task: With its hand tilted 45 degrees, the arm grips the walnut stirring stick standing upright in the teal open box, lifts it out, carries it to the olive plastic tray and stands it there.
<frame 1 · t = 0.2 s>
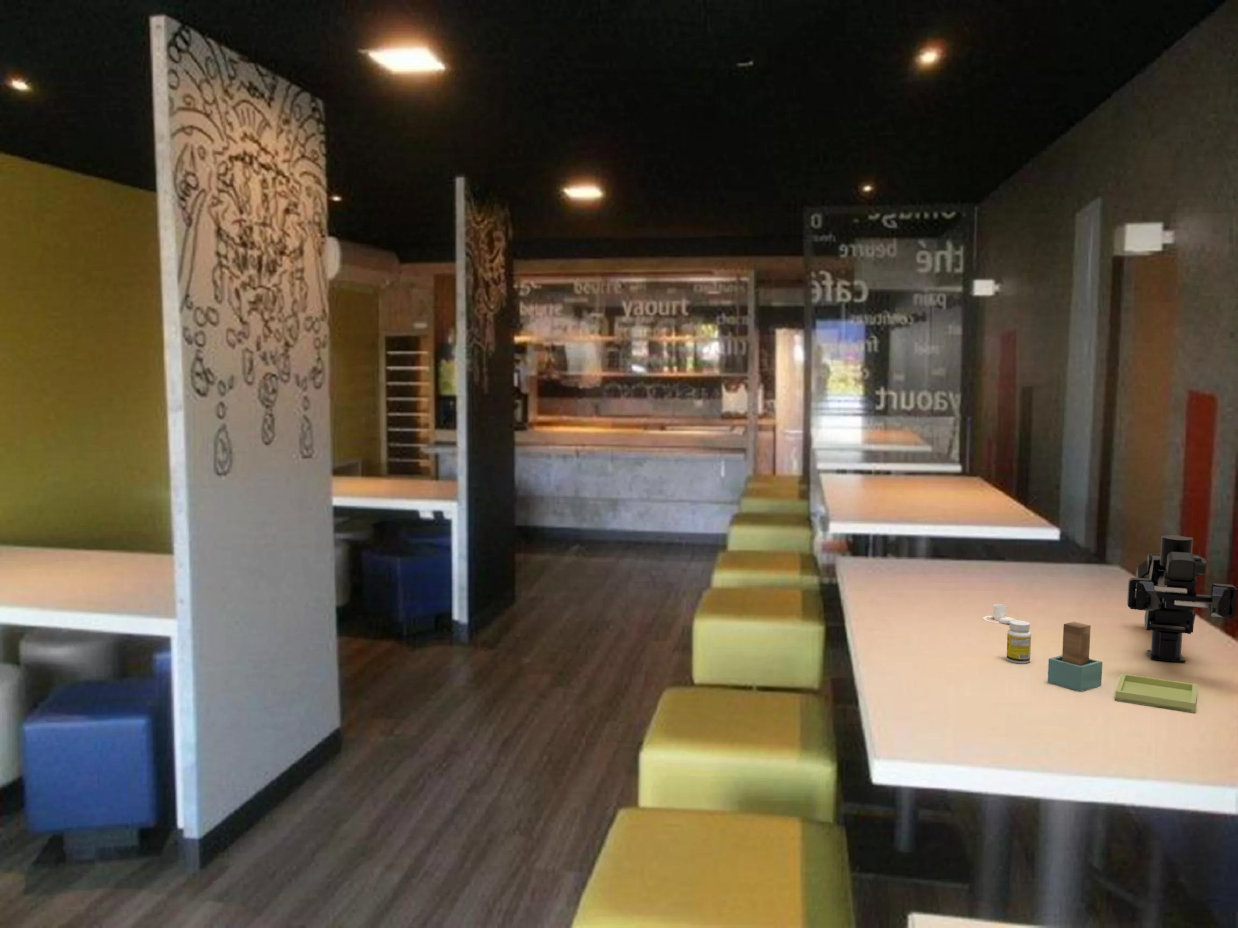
hand: (1186, 607, 186), 17 cm above the table, tool horizontal, fingers open, 9 cm apart
teal open box: (1074, 683, 193), on the table
walnut stick: (1075, 654, 192), in the teal open box
supplement bottle: (1018, 661, 208), on the table
teacup and saucer: (992, 624, 242), on the table
olive tray: (1156, 696, 185), on the table
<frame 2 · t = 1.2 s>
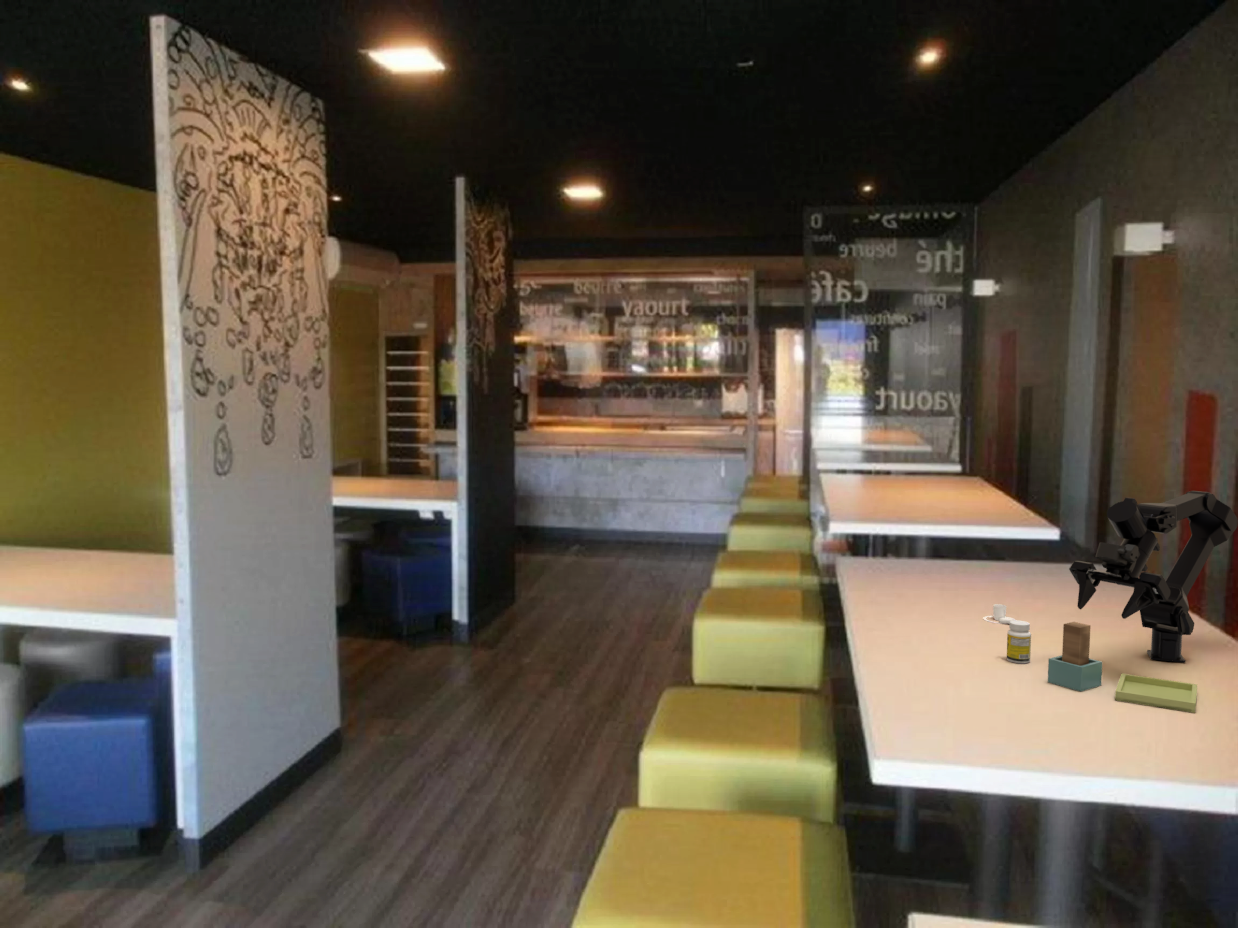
hand: (1100, 612, 196), 13 cm above the table, tool tilted 45°, fingers open, 9 cm apart
nothing on the table moved.
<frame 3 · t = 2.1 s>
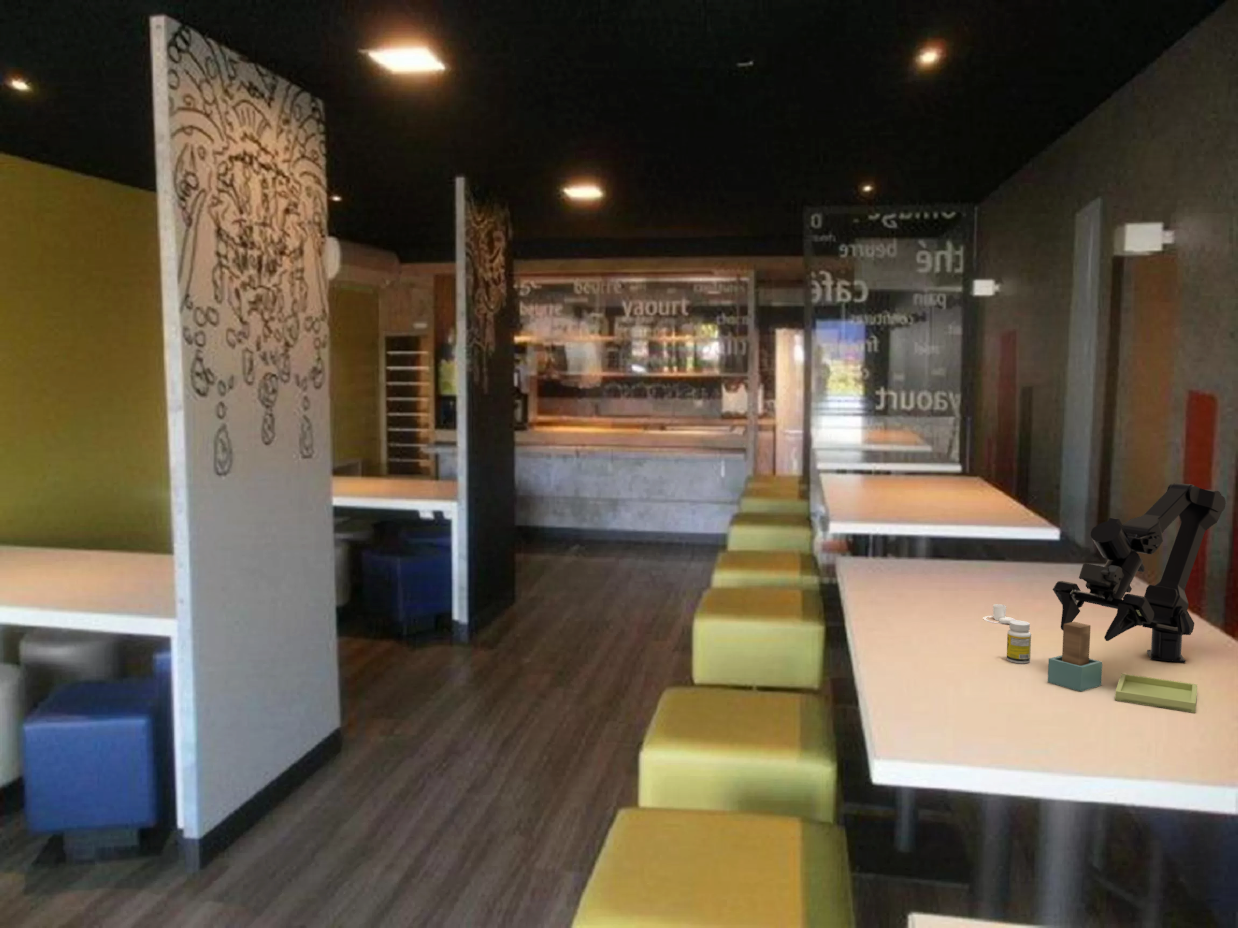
hand: (1083, 634, 193), 10 cm above the table, tool tilted 45°, fingers open, 9 cm apart
nothing on the table moved.
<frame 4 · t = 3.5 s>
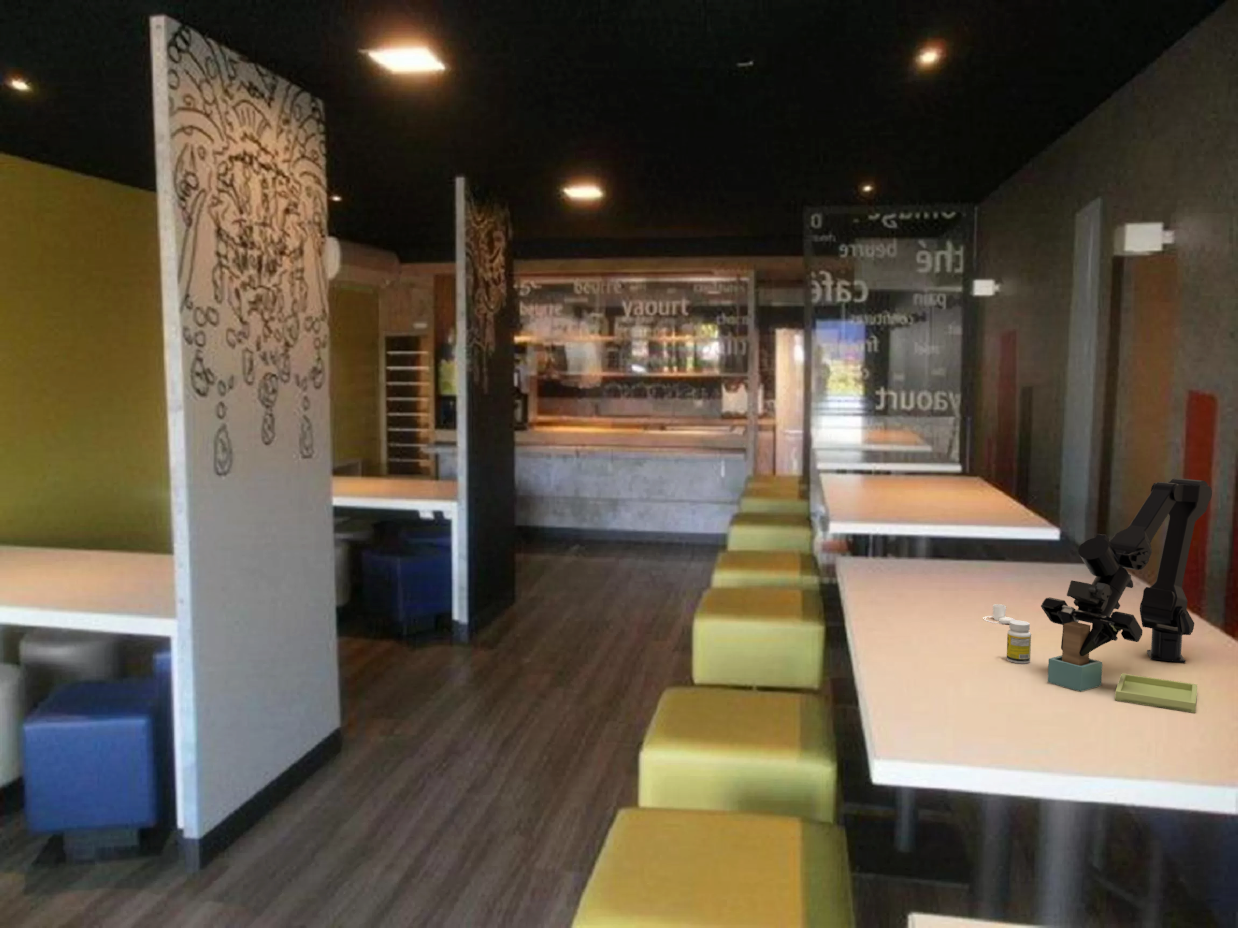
hand: (1071, 652, 191), 7 cm above the table, tool tilted 45°, fingers closed on walnut stick, 3 cm apart
walnut stick: (1075, 654, 192), in the teal open box, touching gripper
everything else where it was.
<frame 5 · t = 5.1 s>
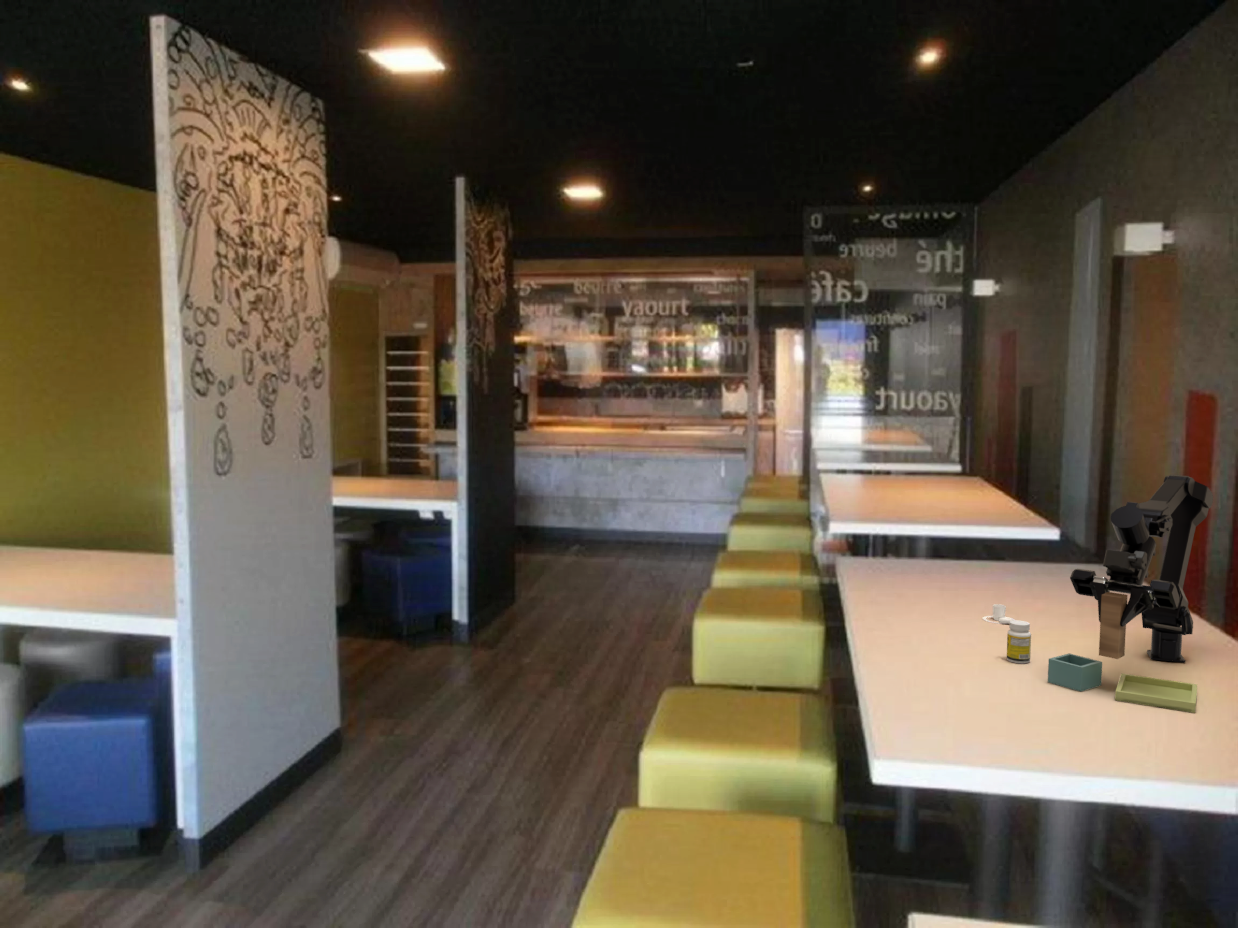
hand: (1110, 623, 187), 13 cm above the table, tool tilted 45°, fingers closed on walnut stick, 3 cm apart
walnut stick: (1113, 625, 188), point 13 cm above the table, touching gripper
everything else where it was.
when the fingers open (8 cm above the table, at t = 6.8 s): walnut stick stays where it is, resting on olive tray.
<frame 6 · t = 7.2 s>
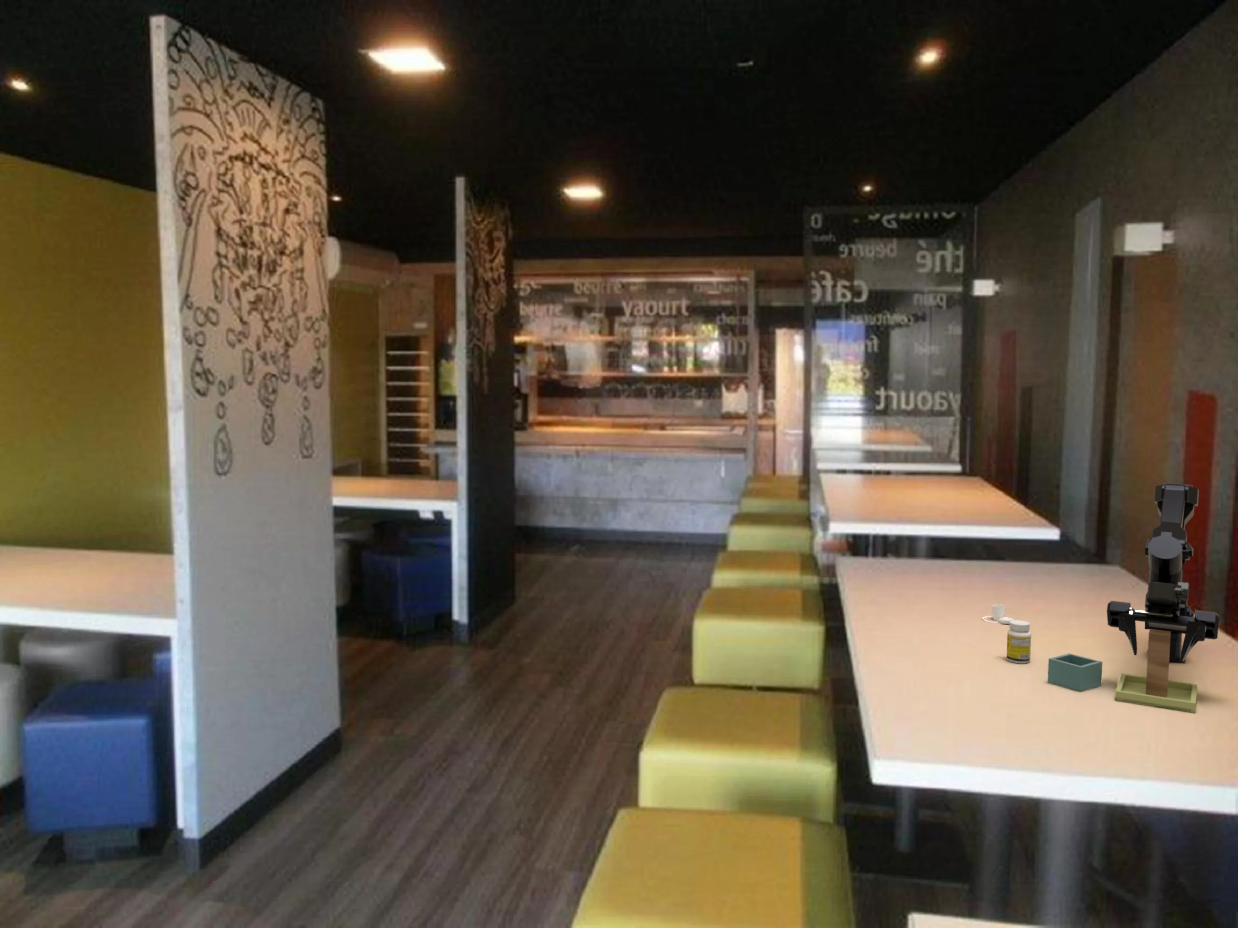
hand: (1158, 657, 183), 8 cm above the table, tool tilted 45°, fingers open, 7 cm apart
walnut stick: (1158, 662, 184), in the olive tray, point 7 cm above the table
everything else where it was.
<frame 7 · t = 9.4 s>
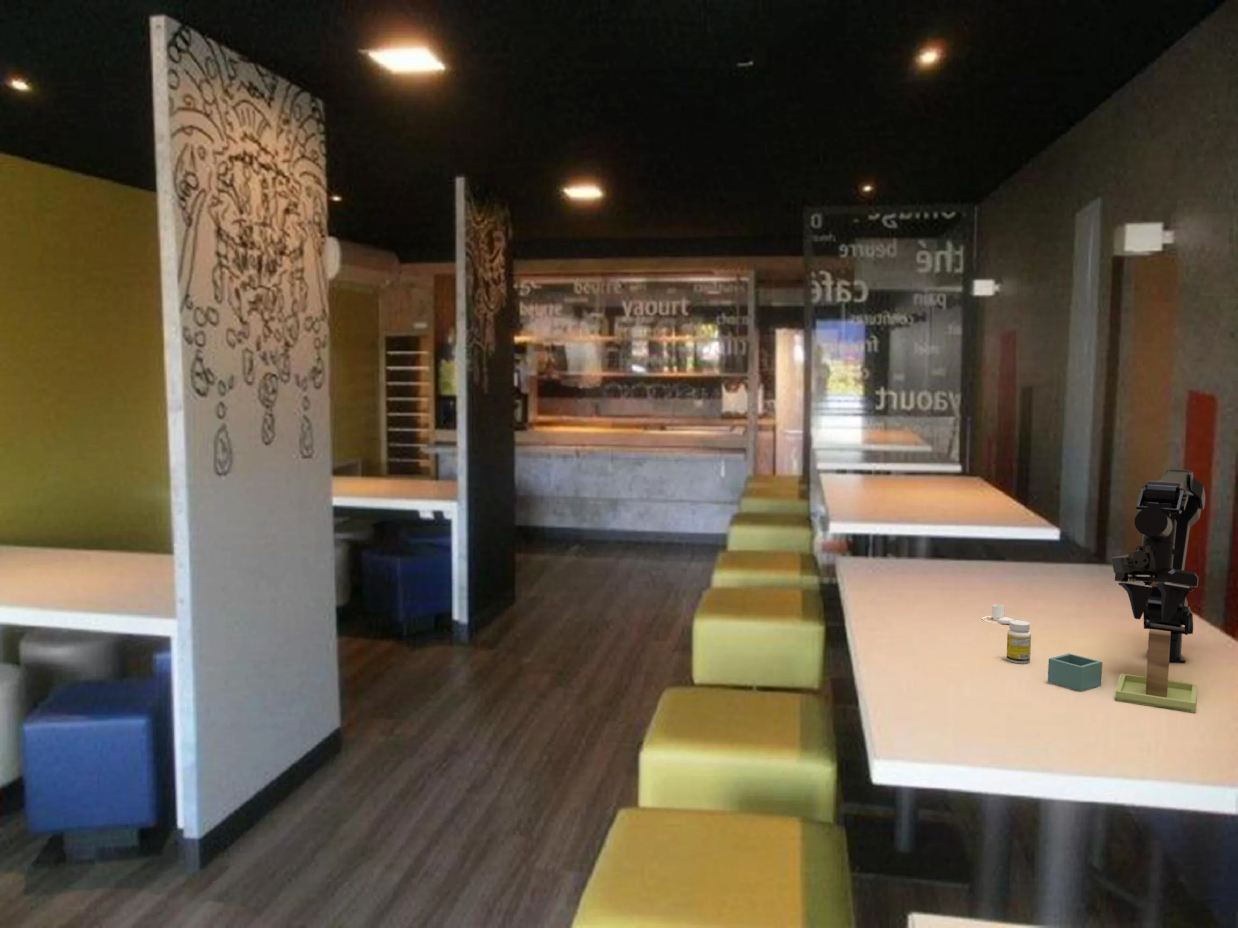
hand: (1150, 620, 194), 12 cm above the table, tool pointing down, fingers open, 9 cm apart
nothing on the table moved.
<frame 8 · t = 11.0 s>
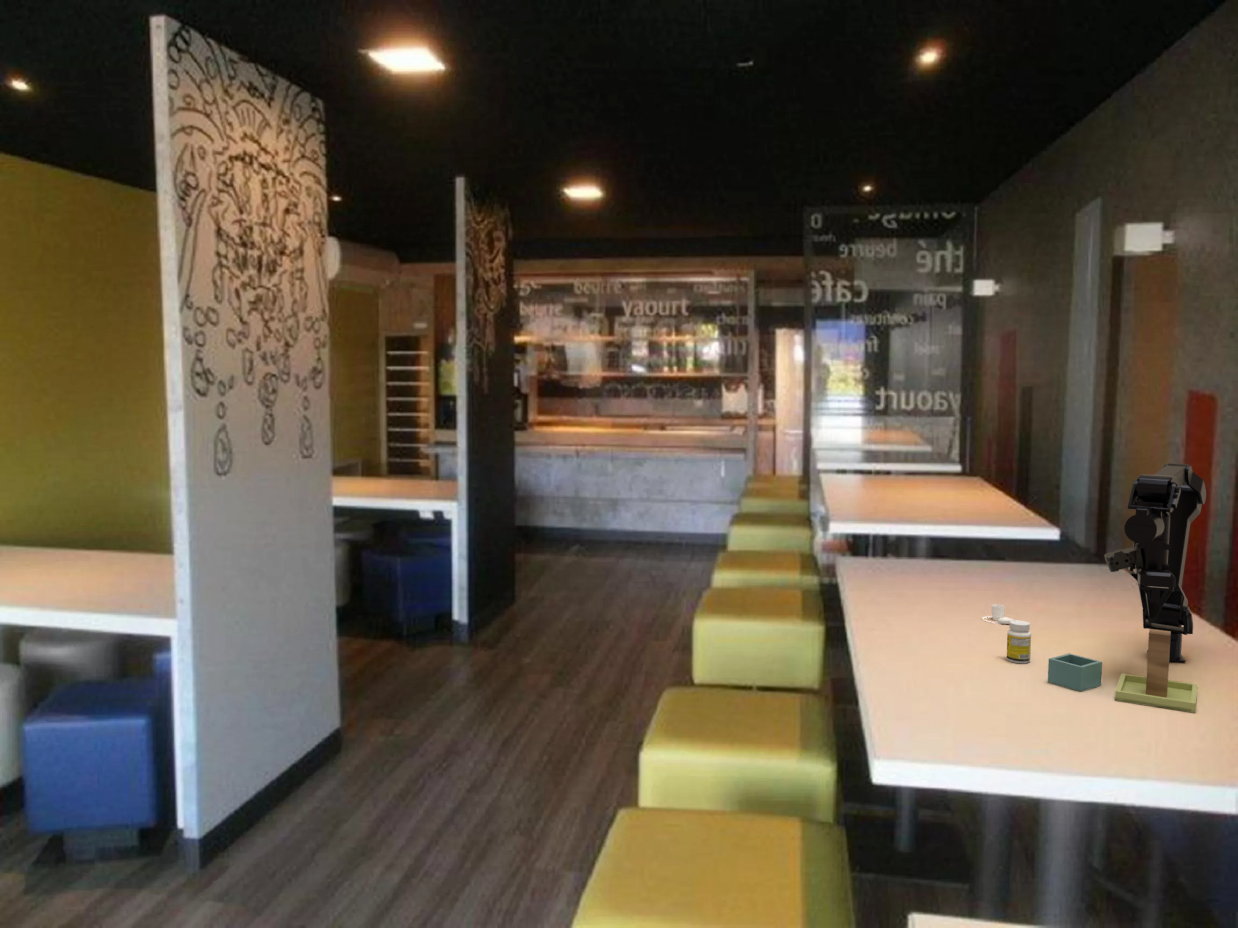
hand: (1148, 613, 197), 13 cm above the table, tool pointing down, fingers open, 9 cm apart
nothing on the table moved.
at the end: walnut stick inside the target area on the olive tray (0.0 cm from its centre), point 6.6 cm above the olive tray's base; the gripper is holding nothing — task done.
